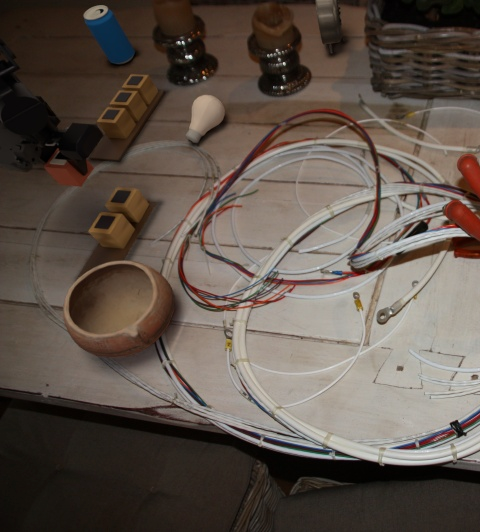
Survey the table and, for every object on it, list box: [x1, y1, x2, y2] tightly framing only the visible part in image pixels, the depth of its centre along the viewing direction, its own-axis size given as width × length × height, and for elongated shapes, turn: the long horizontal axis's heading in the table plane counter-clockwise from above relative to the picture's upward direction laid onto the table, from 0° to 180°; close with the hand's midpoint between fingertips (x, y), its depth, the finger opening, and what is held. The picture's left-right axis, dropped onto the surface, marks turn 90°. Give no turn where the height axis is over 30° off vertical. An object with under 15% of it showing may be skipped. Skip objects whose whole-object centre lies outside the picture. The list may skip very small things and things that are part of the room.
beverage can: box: [83, 4, 136, 65], centre depth 129 cm, size 6×6×12 cm
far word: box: [89, 73, 166, 163], centre depth 117 cm, size 7×22×5 cm, turn 168°
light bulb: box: [185, 94, 226, 144], centre depth 113 cm, size 7×7×11 cm
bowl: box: [62, 259, 175, 358], centre depth 85 cm, size 16×16×10 cm
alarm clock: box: [314, 0, 346, 55], centre depth 121 cm, size 11×5×16 cm, turn 6°
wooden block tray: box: [77, 186, 158, 278], centre depth 98 cm, size 7×18×5 cm, turn 168°
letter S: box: [43, 148, 95, 188], centre depth 95 cm, size 4×4×5 cm
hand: (73, 172), depth 96 cm, fingers closed on letter S, 4 cm apart
